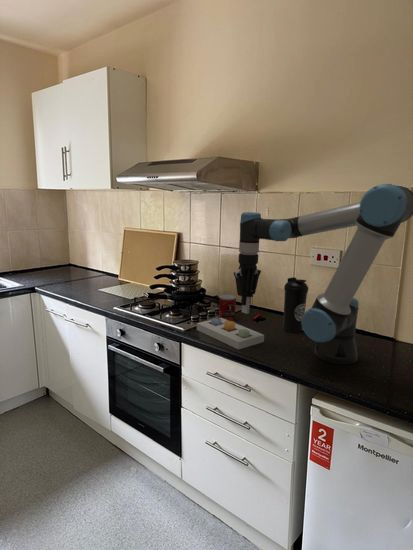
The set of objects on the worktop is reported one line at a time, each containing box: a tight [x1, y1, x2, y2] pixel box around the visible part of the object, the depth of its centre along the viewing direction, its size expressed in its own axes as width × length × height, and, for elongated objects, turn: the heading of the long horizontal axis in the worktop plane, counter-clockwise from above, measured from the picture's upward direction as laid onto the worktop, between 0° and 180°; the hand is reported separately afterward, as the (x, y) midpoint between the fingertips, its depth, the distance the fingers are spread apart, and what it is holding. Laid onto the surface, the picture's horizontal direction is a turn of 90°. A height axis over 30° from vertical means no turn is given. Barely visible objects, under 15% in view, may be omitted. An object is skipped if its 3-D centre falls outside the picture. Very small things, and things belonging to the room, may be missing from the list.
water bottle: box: [282, 276, 309, 334], centre depth 170 cm, size 10×10×23 cm
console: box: [196, 317, 265, 350], centre depth 161 cm, size 26×14×3 cm, turn 39°
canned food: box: [218, 294, 237, 321], centre depth 182 cm, size 8×8×11 cm
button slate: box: [210, 317, 221, 326], centre depth 167 cm, size 4×4×4 cm
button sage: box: [238, 329, 250, 338], centre depth 155 cm, size 4×4×4 cm
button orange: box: [224, 320, 236, 332], centre depth 161 cm, size 4×4×4 cm
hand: (245, 312), depth 153 cm, fingers closed
